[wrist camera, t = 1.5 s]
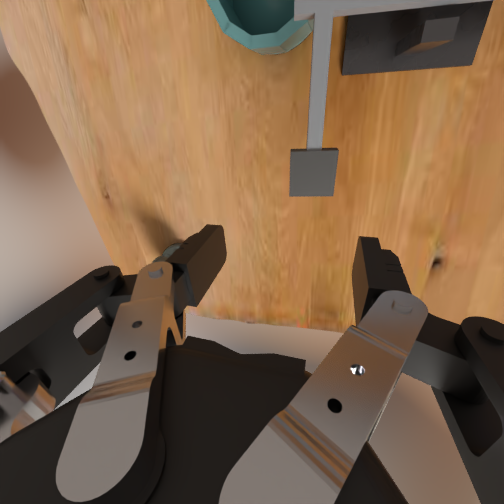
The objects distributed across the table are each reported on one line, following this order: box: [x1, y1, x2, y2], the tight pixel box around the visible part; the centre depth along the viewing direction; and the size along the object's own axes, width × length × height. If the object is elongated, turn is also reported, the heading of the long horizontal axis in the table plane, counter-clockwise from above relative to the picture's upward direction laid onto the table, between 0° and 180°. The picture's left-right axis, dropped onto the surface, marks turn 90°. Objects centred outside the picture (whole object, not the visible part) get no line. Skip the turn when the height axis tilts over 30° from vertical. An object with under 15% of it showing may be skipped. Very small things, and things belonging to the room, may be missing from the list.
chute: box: [289, 0, 490, 196], centre depth 18 cm, size 21×22×5 cm
